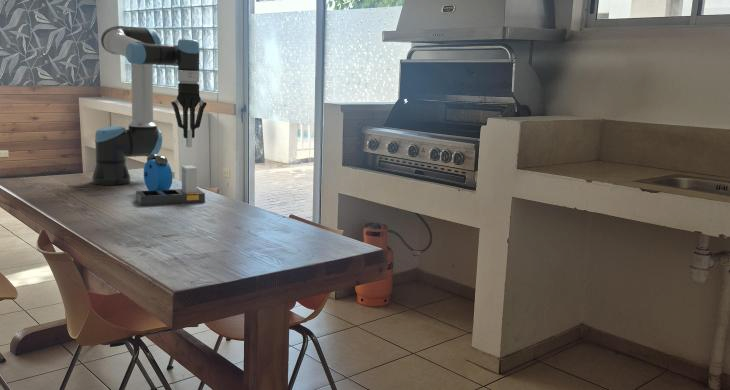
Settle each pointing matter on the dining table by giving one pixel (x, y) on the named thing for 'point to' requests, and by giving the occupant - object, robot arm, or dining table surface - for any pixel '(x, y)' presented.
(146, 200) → the rack
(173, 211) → the dining table surface
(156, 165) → the alarm clock
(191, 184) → the pale grey rectangular block
